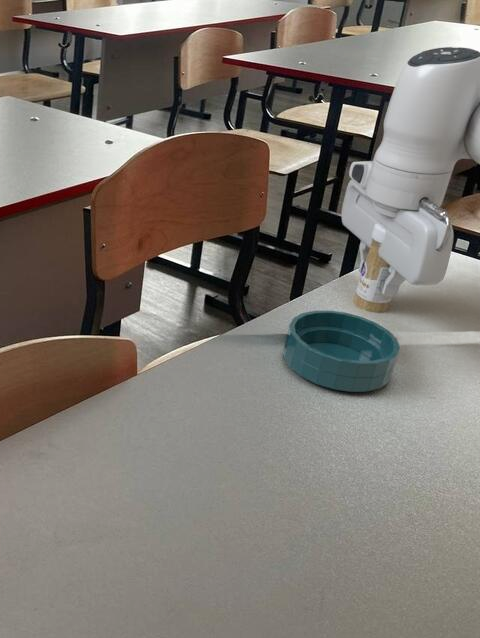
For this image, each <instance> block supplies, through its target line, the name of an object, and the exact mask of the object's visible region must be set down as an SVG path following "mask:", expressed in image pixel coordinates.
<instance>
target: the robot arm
mask: <svg viewBox="0 0 480 638" xmlns="http://www.w3.org/2000/svg"><path fill="white" fill-rule="evenodd" d="M462 159H467V160H473V161H474V162H475V163H477V164H478V165H480V51H479V50H476V49H473V48H470V47H453V46H446V47H436V48H431V49H427V50H423V51H421V52H419V53H417V54H414V55H413V56H412V57H411V58H409V60H407V62H406V63H405V65H404V66H403V68H402V70H401V72H400V73H399V76H398V78H397V81H396V83H395V86H394V87H393V91H392V94H391V96H390V99H389V103H388V106H387V110H386V113H385V116H384V118H383V136H382V140H381V143H380V144H379V146H378V148H377V149H376V151H375V153H374V156H373V160H365V161H364V160H363V161H353V162H351V164H350V167H349V172H348V175H349V178H350V179H349V182H348V184H347V186H346V189H345V194H344V197H343V202H342V207H341V214H340V216H341V223H342V225H343V226H344V227H345V228H346V229H347V230H349V231H350V232H351V233H352V234H353V235H354V236H355V237H356V238H358V240H360V244H359V254H360V255H359V257H360V264H359V267H358V272H359V273H360V274H362V271H363V268H364V264H365V261H366V259H367V256H368V252H369V249H370V246H371V243H372V233H373V229H374V226H375V224H378V225H380V226H381V227H382V228H383V229H384V230H385V231H386V235H385V238H384V241H383V244H380V245H381V247H379V256H380V257H381V258H382V259H383V260H384V261H386V262H387V263H388V264H389V265H390V268H389V272H390V273H391V274H390V275H389V277H388V278H387V279H386V280H382V279H381V283H380V287H379V291H380V292H381V293H382V294H383V295H384V296H386V297H387V296H392V297H396V296H397V295H398V294H399V293H398V292H399V290H400V287H401V285H402V284H403V283H405V281H407V282H408V283H409V284H411V285H414V286H435V285H438V284H440V283H441V282H442V281H443V280H444V279H445V276H446V274H447V269H448V266H449V263H450V260H451V259H450V258H451V254H452V249H453V244H454V229H453V225H452V224H451V220H450V219H449V217H450V214H449V212H448V211H447V210H446V209H444V208H442V207H441V206H442V204H443V202H444V198H445V195H446V193H447V190H448V186H449V183H450V180H451V177H452V173H453V171H454V167H455V165H456V163H457V162H458V161H460V160H462Z"/></svg>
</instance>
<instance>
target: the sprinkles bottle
mask: <svg viewBox="0 0 480 638" xmlns="http://www.w3.org/2000/svg"><path fill="white" fill-rule="evenodd" d="M385 235H386V231H385V230H384V229H383V228H382V227H381V226H380V225H378V224H375V226H374V229H373V233H372V243H371V246H370V249H369V252H368V256H367V259H366V261H365V264H364V268H363V271H362V274H361V273H360V274H361V275H360V277H359V281H358V285H357V287H356V291H355V292H356V293H355V295H354V299H353V304H354V306H356V307H357V308H358V309H360V310H362V311H365V312H369V313H376V314H377V313H378V314H380V313H384V312H386V311H387V310H388V308H389V304H390V301H391V300H392V297H393V296H387V297H386V296H384V295H383V294H382V293H381V292H380V291H379V287H380V283H381V279H382V280H386V279H387V278H388V277H389V275H390V274H391V273H390V272H389V268H390V265H389V264H388V263H387V262H386V261H384V260H383V259H382V258H381V257H380V256H379V247H381V245H380V244H383V241H384V238H385Z"/></svg>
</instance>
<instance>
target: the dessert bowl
mask: <svg viewBox="0 0 480 638" xmlns="http://www.w3.org/2000/svg"><path fill="white" fill-rule="evenodd" d="M288 325H289V326H288V330H287V334H286V338H285V342H284V346H283V349H282V353H283V359H284V361H285V362H286V364H287V365H288V367H289V368H290V369H291V370H293V371H294V372H295V373H296V374H298V375H299V376H300V377H302V378H303V379H306V380H307V381H309V382H311V383H313V384H315V385H318V386H321V387H323V388H326V389H331V390H334V391H340V392H347V393H348V392H349V393H350V392H351V393H353V392H354V393H355V392H356V393H357V392H358V393H361V392H362V393H363V392H370V391H374V390H379V389H381V388H383V387H384V386H386V385H387V384H388V383H389V382H390V379H391V376H392V375H393V370H394V368H395V364H396V361H397V359H398V356H399V353H400V350H401V345H400V343H399V341H398V339H397V337H396V336H395V335H394V334H393V333H392V332H391V331H390V330H388V329H387V328H385V327H384V326H382V325H381V324H379V323H377V322H375V321H374V320H370V319H367V318H365V317H363V316H359V315H357V314H352V313H348V312H346V311H345V312H343V311H337V310H328V309H327V310H311V311H307V312H306V311H305V312H302V313H300V314H298V315H296V316H294V317H293V318H292V320H291V322H290V323H289V324H288Z"/></svg>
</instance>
